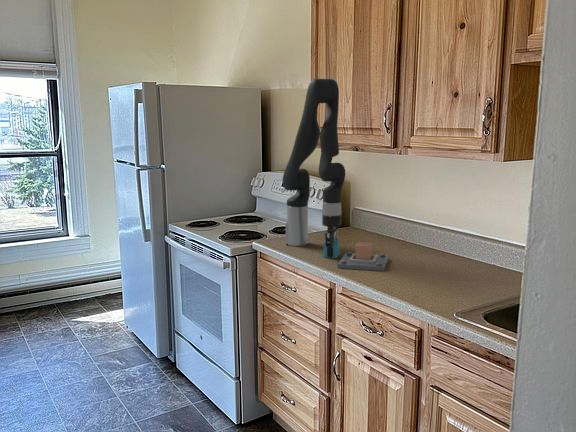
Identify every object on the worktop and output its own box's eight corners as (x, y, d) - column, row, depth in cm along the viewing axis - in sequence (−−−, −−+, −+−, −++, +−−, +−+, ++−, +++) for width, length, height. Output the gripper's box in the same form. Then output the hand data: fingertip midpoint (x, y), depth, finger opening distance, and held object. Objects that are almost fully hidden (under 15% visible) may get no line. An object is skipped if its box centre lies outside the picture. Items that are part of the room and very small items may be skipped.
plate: (337, 267, 196) (337, 261, 195) (345, 256, 212) (345, 250, 211) (383, 271, 191) (384, 264, 191) (388, 259, 207) (388, 253, 207)
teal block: (323, 257, 211) (323, 242, 210) (326, 254, 216) (326, 239, 215) (336, 258, 210) (337, 243, 209) (339, 254, 215) (339, 240, 214)
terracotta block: (355, 261, 199) (355, 245, 198) (357, 257, 205) (357, 242, 204) (369, 261, 198) (370, 246, 197) (371, 258, 203) (372, 243, 202)
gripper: (326, 210, 218) (326, 250, 221) (318, 216, 204) (318, 258, 207) (344, 210, 216) (343, 251, 219) (337, 217, 202) (337, 260, 205)
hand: (331, 254), depth 213 cm, fingers closed on teal block, 5 cm apart
